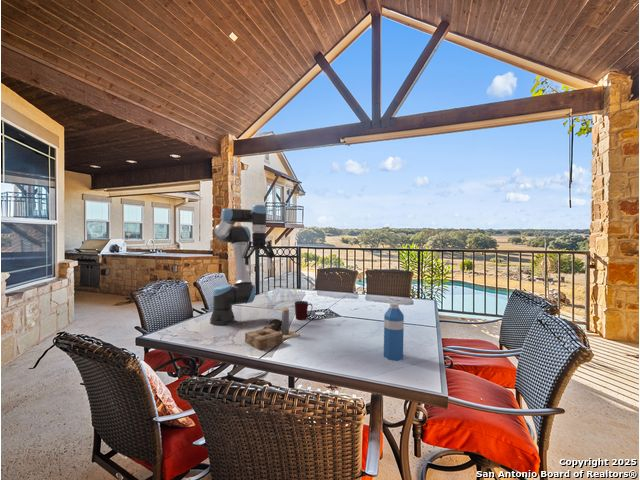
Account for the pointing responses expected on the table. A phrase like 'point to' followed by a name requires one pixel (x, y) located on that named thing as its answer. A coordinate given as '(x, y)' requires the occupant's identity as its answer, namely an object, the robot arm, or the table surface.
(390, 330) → the water bottle
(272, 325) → the brown lumpy club
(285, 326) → the plug
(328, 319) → the table surface
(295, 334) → the light brown wooden board
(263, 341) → the socket block
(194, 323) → the table surface
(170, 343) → the table surface
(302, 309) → the mug
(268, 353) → the table surface
